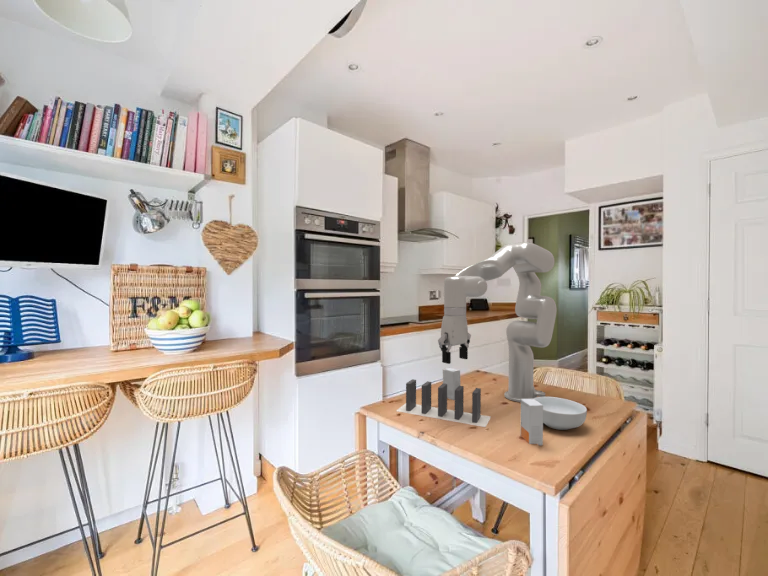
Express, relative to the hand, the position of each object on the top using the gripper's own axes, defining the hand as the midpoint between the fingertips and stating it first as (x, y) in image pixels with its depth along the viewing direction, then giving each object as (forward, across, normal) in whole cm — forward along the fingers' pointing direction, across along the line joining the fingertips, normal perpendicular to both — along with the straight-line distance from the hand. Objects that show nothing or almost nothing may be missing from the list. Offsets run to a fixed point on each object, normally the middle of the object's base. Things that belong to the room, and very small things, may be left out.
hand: (455, 360), depth 126 cm
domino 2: (+19, +4, -10) cm, 22 cm away
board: (+20, +2, -4) cm, 20 cm away
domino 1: (+19, +6, -15) cm, 25 cm away
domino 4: (+19, 0, +2) cm, 19 cm away
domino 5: (+19, -2, +7) cm, 21 cm away
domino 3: (+19, +2, -4) cm, 20 cm away
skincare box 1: (+20, -15, -13) cm, 28 cm away
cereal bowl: (+20, -20, +27) cm, 39 cm away
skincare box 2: (+20, -2, +27) cm, 34 cm away
